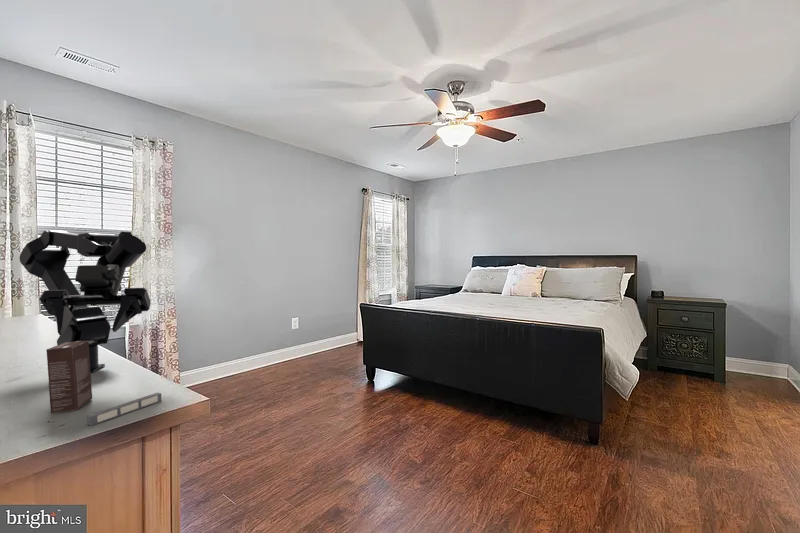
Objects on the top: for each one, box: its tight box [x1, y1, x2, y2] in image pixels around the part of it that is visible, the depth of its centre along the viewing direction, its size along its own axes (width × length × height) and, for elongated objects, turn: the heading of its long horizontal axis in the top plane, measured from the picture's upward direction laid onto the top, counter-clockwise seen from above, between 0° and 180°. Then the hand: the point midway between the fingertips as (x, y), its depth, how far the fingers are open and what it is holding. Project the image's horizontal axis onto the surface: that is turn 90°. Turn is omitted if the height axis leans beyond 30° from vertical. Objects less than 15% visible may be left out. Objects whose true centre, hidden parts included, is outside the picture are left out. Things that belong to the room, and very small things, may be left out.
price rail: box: [86, 391, 162, 427], centre depth 68 cm, size 1×12×2 cm, turn 156°
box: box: [45, 340, 93, 414], centre depth 71 cm, size 6×4×12 cm
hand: (87, 332), depth 78 cm, fingers open, 9 cm apart
